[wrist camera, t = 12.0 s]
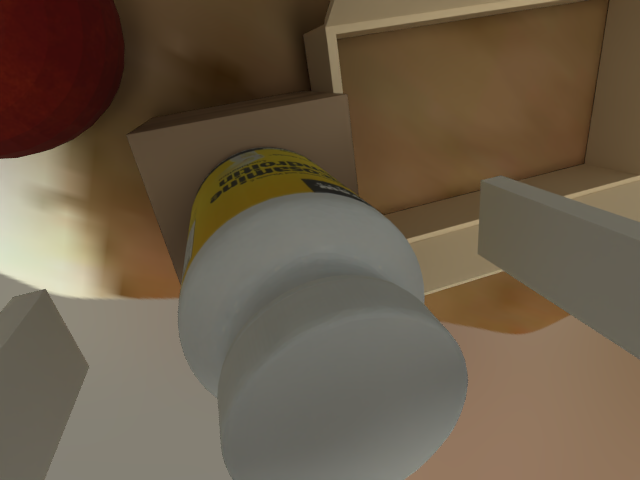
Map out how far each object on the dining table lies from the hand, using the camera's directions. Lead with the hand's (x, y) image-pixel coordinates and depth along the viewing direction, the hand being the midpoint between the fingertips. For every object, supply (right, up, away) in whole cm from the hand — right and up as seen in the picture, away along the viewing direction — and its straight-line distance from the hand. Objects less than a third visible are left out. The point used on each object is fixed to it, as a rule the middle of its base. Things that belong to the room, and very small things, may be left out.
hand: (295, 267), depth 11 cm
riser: (-4, +5, +13) cm, 14 cm away
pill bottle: (-2, +2, +6) cm, 6 cm away
